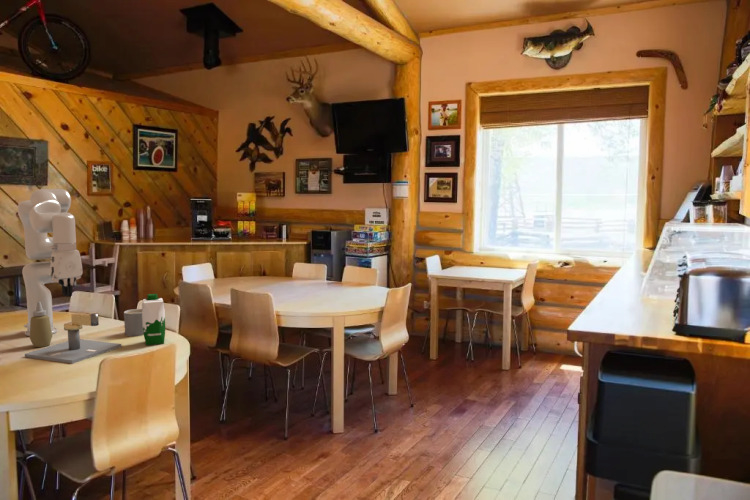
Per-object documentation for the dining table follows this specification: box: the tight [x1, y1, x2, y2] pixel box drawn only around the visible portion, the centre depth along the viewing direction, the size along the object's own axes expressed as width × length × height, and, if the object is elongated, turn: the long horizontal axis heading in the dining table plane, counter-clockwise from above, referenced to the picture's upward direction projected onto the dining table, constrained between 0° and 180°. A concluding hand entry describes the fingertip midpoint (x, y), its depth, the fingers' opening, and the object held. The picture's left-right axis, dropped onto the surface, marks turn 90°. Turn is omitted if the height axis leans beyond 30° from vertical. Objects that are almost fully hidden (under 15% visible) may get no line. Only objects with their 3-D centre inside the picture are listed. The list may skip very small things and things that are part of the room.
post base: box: [24, 329, 123, 364], centre depth 229 cm, size 24×24×9 cm
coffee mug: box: [123, 308, 144, 337], centre depth 259 cm, size 13×10×10 cm
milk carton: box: [141, 293, 166, 346], centre depth 242 cm, size 9×9×20 cm
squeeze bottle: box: [29, 302, 53, 348], centre depth 237 cm, size 8×8×18 cm
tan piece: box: [63, 312, 100, 332], centre depth 227 cm, size 6×15×6 cm, turn 76°
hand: (67, 295), depth 219 cm, fingers closed
